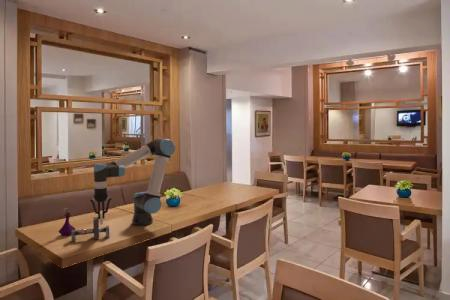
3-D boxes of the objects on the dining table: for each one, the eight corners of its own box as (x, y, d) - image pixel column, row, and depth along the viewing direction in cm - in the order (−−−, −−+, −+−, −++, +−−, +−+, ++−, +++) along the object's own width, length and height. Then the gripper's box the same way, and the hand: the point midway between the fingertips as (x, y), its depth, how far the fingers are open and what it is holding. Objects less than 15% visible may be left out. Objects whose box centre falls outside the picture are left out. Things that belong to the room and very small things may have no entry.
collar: (99, 234, 206) (98, 216, 205) (99, 238, 197) (98, 220, 197) (94, 234, 205) (93, 217, 204) (93, 239, 196) (93, 221, 196)
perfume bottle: (65, 232, 212) (64, 206, 211) (75, 233, 212) (74, 206, 210) (58, 236, 205) (57, 209, 204) (69, 236, 204) (68, 209, 203)
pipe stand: (109, 235, 206) (108, 225, 206) (109, 237, 202) (109, 227, 201) (72, 239, 198) (71, 229, 198) (71, 242, 193) (71, 231, 193)
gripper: (111, 186, 206) (112, 221, 208) (89, 187, 201) (90, 223, 203) (111, 187, 199) (112, 224, 201) (89, 189, 194) (90, 226, 196)
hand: (101, 223), depth 202 cm, fingers closed
